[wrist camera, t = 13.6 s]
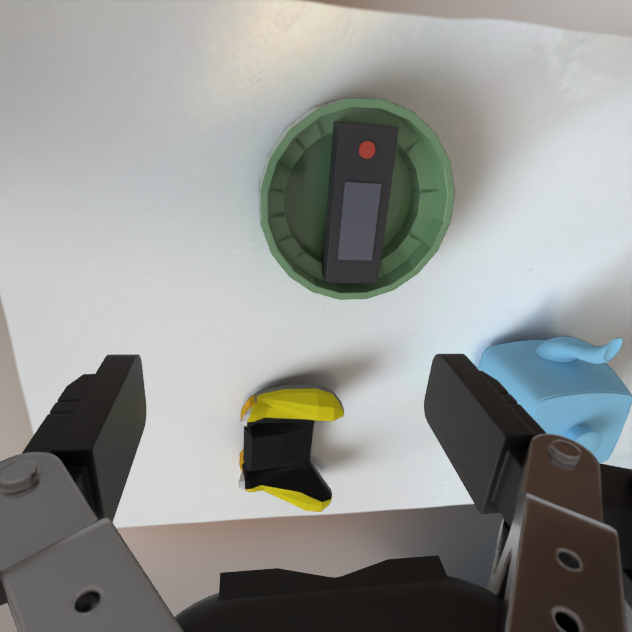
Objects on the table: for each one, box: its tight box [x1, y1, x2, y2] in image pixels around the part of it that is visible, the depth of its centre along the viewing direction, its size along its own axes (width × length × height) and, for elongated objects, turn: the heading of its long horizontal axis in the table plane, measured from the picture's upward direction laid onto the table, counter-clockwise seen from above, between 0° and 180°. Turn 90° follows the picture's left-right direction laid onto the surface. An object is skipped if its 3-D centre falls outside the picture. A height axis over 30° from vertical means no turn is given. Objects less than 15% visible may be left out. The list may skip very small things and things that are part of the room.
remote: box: [322, 122, 399, 283], centre depth 34 cm, size 12×4×3 cm, turn 176°
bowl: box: [259, 98, 455, 300], centre depth 36 cm, size 15×15×5 cm
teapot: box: [478, 336, 632, 463], centre depth 43 cm, size 12×18×12 cm
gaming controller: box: [239, 384, 344, 512], centre depth 45 cm, size 15×6×10 cm
